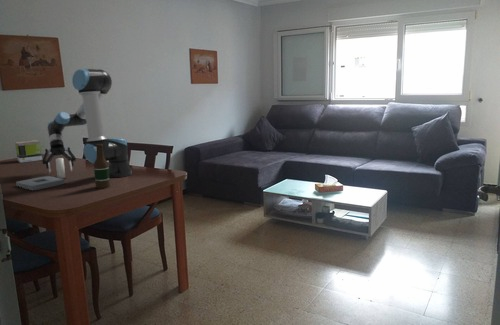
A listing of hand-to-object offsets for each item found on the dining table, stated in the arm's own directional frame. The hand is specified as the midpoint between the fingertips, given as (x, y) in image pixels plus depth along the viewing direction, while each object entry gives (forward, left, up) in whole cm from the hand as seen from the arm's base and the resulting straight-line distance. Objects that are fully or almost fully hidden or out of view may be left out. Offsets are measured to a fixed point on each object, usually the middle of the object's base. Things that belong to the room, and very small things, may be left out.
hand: (61, 171), depth 232 cm
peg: (+3, -1, -5) cm, 5 cm away
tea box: (+78, -18, -5) cm, 80 cm away
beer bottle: (-38, -2, -5) cm, 39 cm away
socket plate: (-4, +15, -5) cm, 16 cm away
